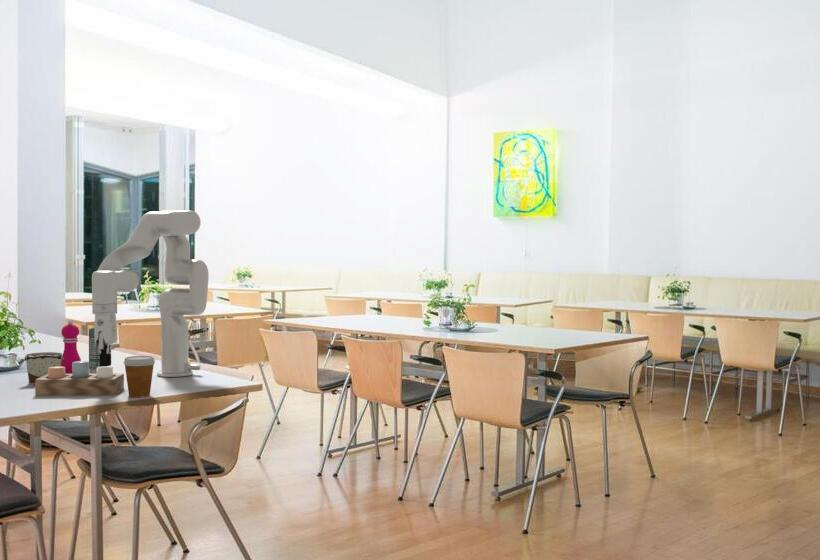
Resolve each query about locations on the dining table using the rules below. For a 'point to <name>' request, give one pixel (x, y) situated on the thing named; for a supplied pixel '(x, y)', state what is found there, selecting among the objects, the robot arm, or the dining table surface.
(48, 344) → the dining table surface
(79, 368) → the slate egg
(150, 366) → the disposable coffee cup
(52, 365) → the food container
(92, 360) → the dark green cylinder
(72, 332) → the pepper mill
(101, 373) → the white egg
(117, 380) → the wooden egg rack
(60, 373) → the terracotta egg
